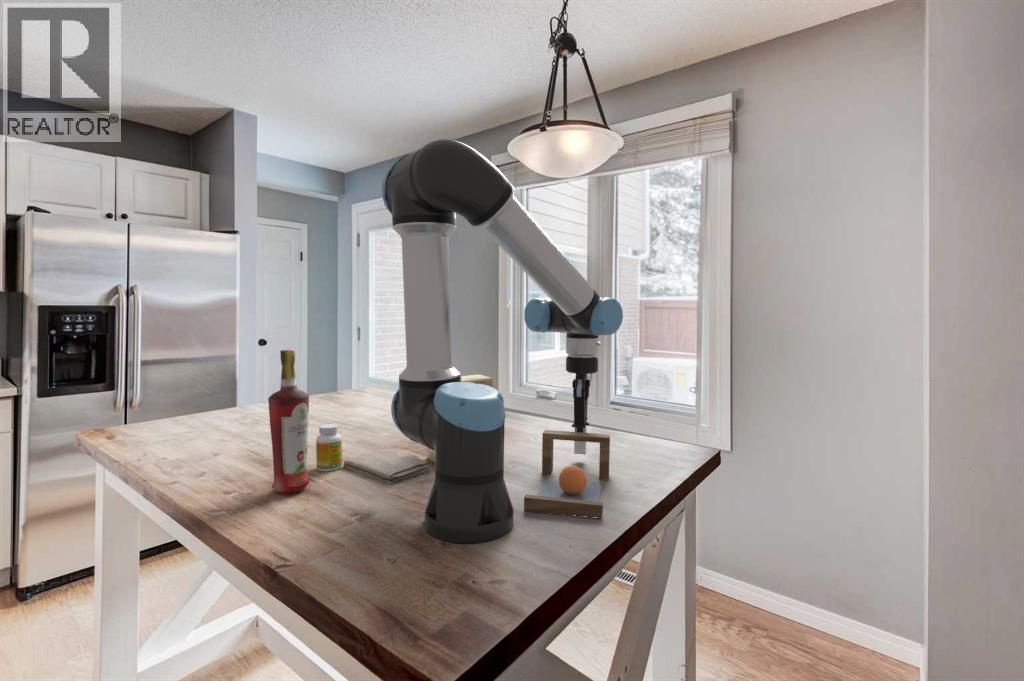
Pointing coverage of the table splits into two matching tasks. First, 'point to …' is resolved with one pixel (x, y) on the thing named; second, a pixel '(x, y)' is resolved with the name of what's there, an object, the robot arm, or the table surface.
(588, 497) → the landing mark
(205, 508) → the table surface
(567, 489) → the ball
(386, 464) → the washcloth
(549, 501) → the stop rail
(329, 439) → the supplement bottle
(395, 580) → the table surface
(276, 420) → the liquor
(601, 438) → the bridge
